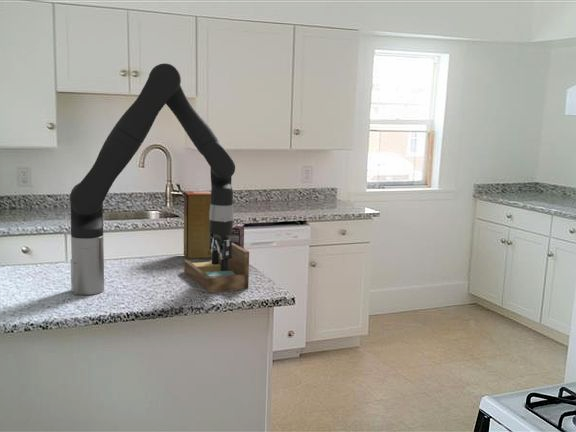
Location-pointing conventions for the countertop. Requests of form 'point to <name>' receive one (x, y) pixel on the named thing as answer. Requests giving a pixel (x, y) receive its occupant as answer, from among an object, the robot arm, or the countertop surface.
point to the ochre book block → (207, 267)
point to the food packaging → (196, 224)
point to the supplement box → (237, 235)
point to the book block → (219, 273)
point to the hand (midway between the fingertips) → (219, 267)
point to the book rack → (224, 283)
